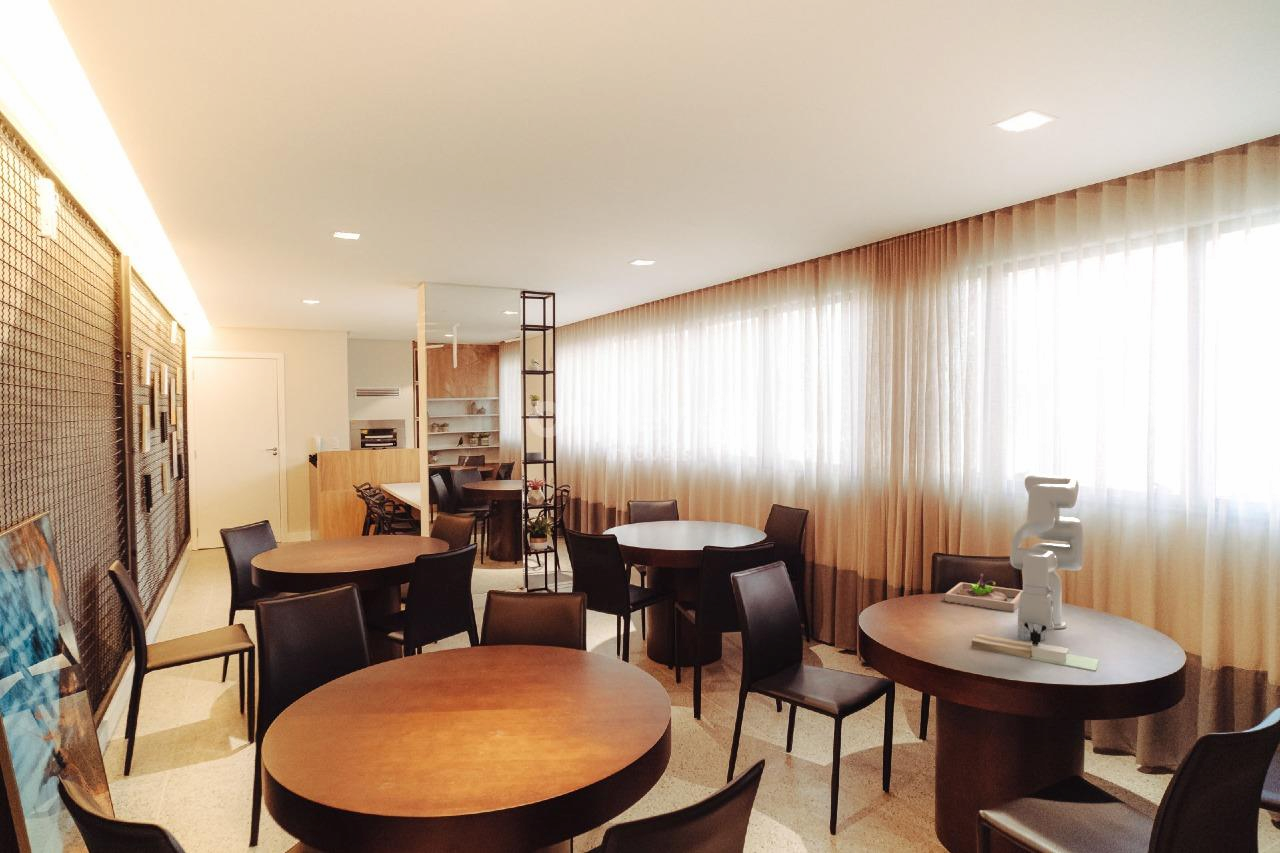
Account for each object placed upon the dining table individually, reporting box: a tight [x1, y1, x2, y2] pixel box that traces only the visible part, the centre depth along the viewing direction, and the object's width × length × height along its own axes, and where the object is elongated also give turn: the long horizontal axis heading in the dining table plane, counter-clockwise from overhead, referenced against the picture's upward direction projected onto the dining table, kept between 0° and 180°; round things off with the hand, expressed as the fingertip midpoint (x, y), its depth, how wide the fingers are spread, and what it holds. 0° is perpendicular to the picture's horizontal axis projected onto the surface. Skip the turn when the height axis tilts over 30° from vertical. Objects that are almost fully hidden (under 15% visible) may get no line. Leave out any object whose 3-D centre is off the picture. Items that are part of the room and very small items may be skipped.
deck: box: [971, 633, 1033, 659], centre depth 239 cm, size 10×18×2 cm, turn 52°
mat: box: [1030, 654, 1100, 672], centre depth 228 cm, size 12×18×1 cm, turn 52°
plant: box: [957, 573, 1008, 602], centre depth 307 cm, size 20×20×11 cm
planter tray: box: [944, 581, 1023, 613], centre depth 304 cm, size 27×27×4 cm
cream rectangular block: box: [1031, 642, 1070, 662], centre depth 230 cm, size 6×10×3 cm, turn 52°
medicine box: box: [1017, 617, 1047, 641], centre depth 251 cm, size 8×4×9 cm, turn 84°
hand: (1035, 643), depth 233 cm, fingers closed
